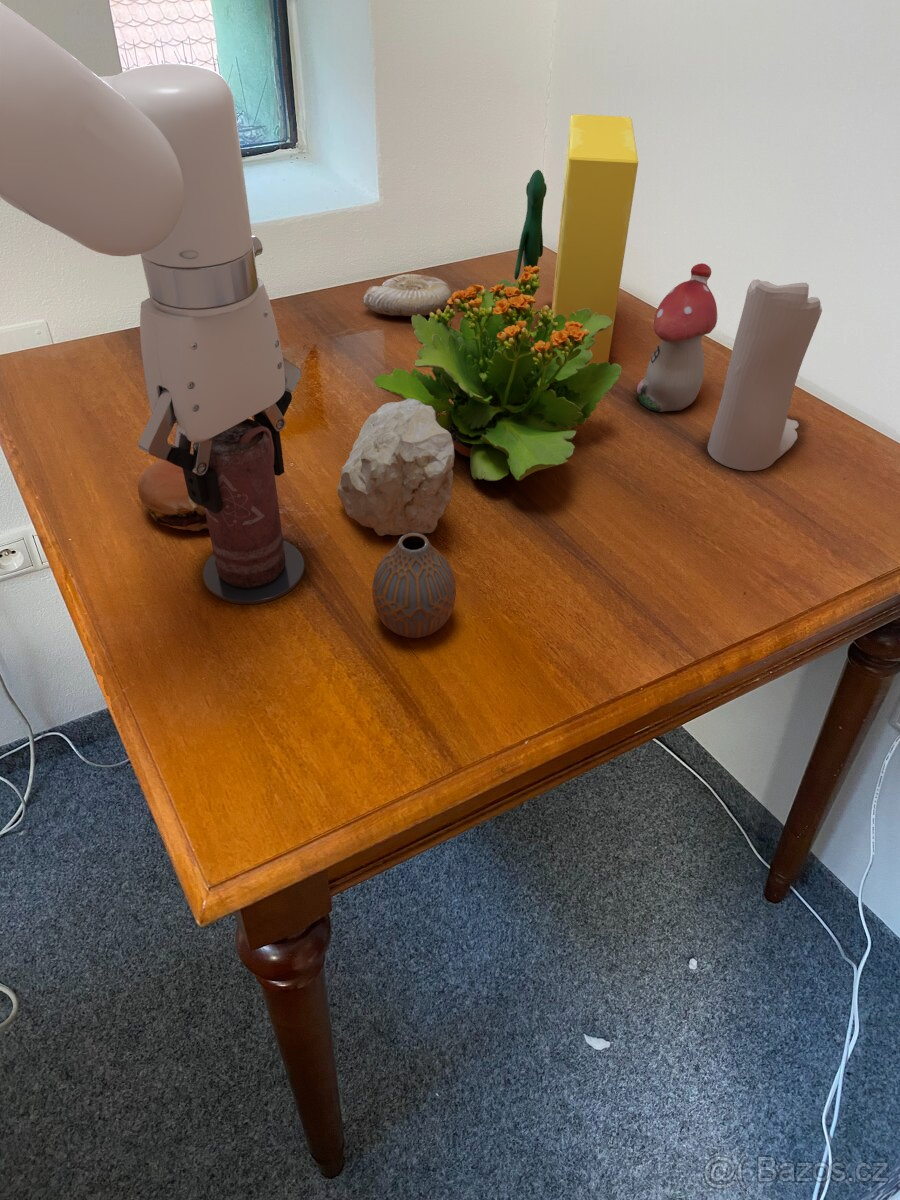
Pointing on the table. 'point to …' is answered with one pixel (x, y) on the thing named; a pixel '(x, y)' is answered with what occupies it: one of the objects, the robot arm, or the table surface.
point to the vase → (414, 588)
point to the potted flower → (507, 377)
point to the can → (246, 507)
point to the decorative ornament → (679, 344)
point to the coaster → (263, 593)
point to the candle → (763, 376)
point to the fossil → (408, 296)
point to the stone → (399, 470)
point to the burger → (170, 497)
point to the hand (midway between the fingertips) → (238, 485)
